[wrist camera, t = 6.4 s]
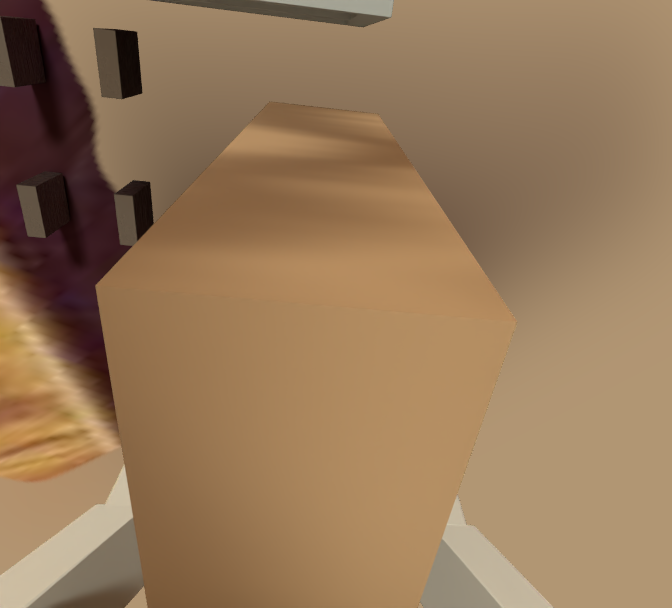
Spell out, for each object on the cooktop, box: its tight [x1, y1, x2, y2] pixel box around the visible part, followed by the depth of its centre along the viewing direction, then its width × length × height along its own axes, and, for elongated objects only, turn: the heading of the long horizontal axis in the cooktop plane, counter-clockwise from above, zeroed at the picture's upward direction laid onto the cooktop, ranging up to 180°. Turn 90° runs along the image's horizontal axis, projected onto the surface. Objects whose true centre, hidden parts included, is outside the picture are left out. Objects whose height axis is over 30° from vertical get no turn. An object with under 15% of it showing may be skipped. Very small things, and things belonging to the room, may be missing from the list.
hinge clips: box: [0, 16, 154, 246], centre depth 26 cm, size 6×11×3 cm, turn 174°
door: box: [96, 102, 517, 608], centre depth 11 cm, size 4×12×11 cm, turn 174°
